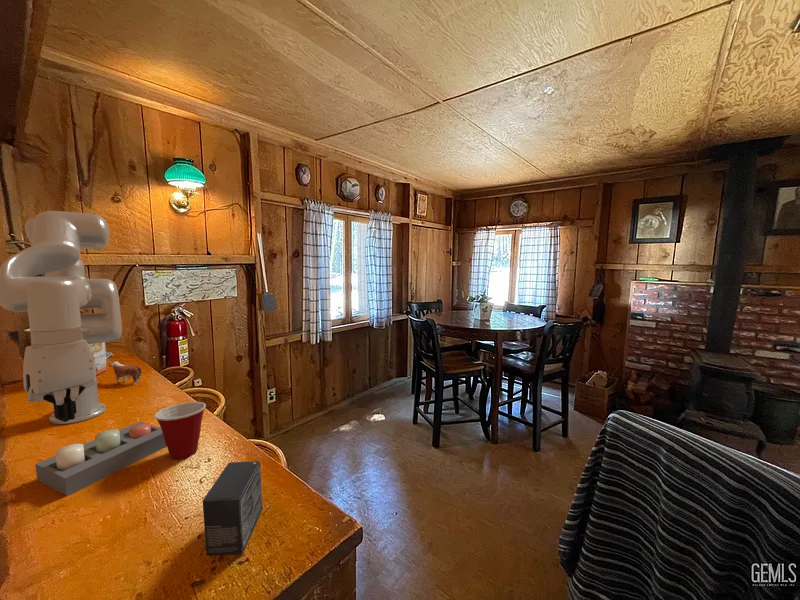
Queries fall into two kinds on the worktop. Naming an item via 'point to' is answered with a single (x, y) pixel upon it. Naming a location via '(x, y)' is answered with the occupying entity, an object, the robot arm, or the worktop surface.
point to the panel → (100, 461)
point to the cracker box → (99, 356)
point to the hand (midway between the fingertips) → (66, 419)
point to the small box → (232, 508)
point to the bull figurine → (126, 372)
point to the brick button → (139, 430)
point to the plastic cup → (181, 428)
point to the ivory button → (69, 456)
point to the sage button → (107, 441)
